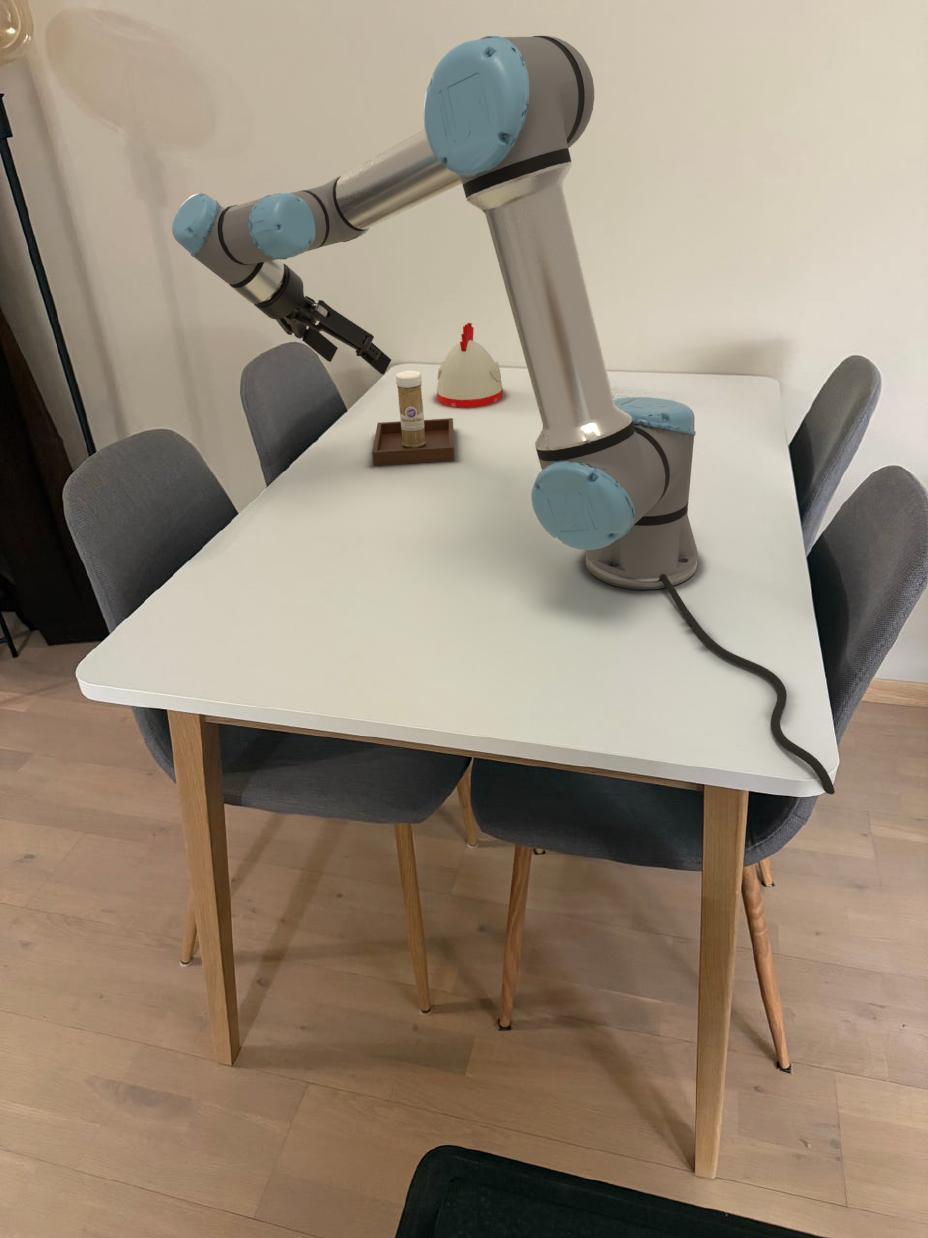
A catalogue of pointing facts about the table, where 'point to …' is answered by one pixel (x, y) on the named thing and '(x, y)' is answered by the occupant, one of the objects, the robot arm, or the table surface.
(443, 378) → the kitchen timer
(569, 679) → the table surface
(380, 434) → the wooden tray
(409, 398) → the sprinkles bottle
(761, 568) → the table surface
